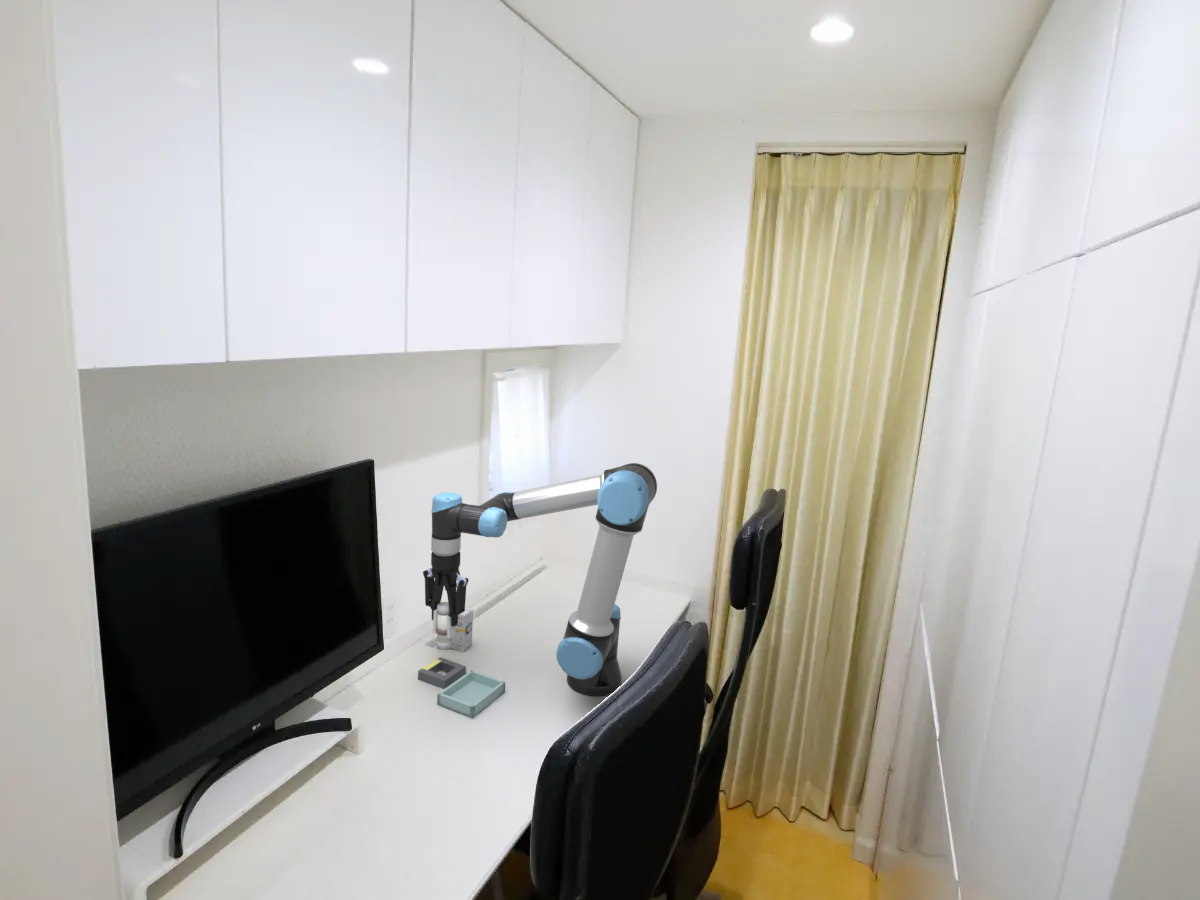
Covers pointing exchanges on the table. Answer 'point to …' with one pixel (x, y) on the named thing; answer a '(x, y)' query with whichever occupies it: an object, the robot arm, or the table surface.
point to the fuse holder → (441, 681)
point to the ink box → (463, 631)
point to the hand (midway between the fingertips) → (444, 633)
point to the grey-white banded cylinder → (443, 627)
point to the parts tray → (471, 693)
